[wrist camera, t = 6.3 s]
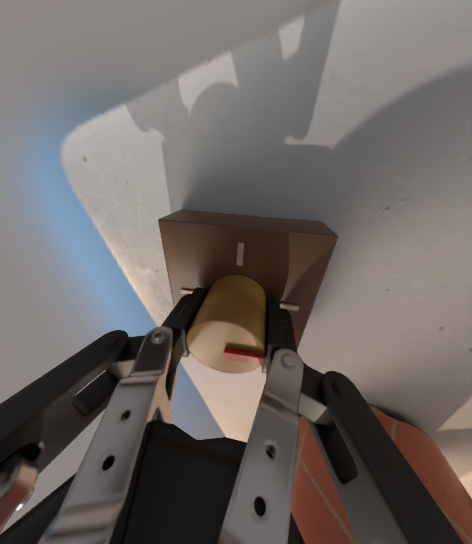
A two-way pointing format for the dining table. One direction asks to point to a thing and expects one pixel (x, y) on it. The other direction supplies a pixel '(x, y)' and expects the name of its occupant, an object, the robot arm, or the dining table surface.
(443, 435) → the dining table surface
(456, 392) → the dining table surface
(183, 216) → the console
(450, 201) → the dining table surface
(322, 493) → the planter
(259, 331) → the dial
